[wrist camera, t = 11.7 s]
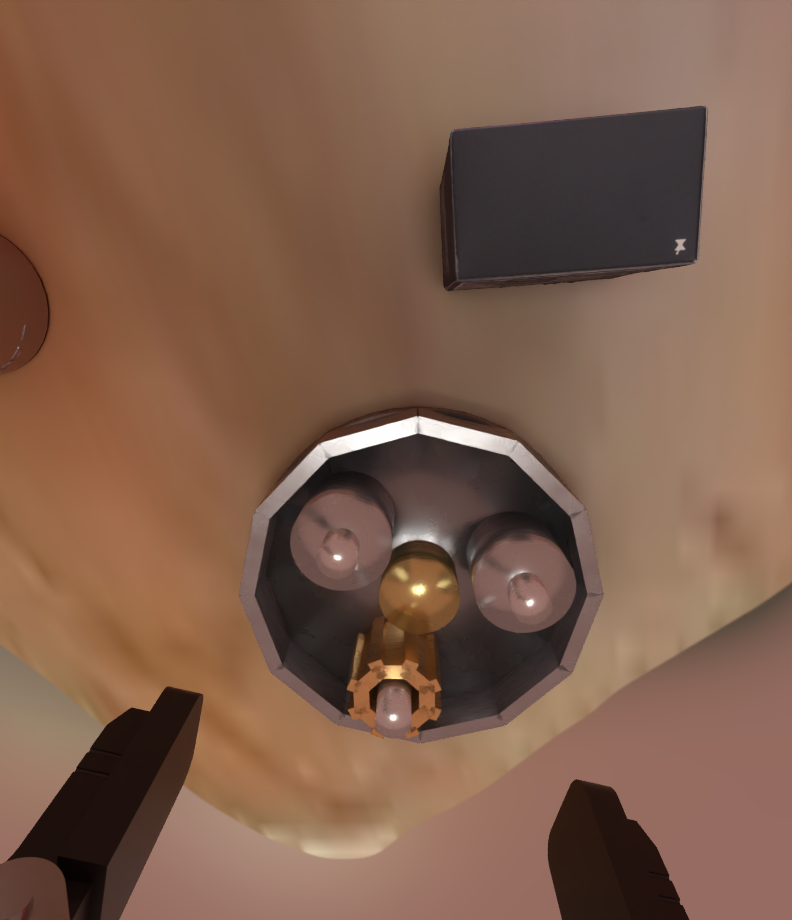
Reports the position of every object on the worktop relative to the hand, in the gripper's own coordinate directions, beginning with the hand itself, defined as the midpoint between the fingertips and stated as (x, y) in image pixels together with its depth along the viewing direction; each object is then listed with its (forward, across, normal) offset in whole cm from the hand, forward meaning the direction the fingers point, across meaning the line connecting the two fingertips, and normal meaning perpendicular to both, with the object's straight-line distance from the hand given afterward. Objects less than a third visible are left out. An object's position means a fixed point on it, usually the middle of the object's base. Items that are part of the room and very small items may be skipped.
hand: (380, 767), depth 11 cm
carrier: (+26, -3, +8) cm, 28 cm away
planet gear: (+25, -3, +15) cm, 29 cm away
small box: (+26, -4, -15) cm, 31 cm away
